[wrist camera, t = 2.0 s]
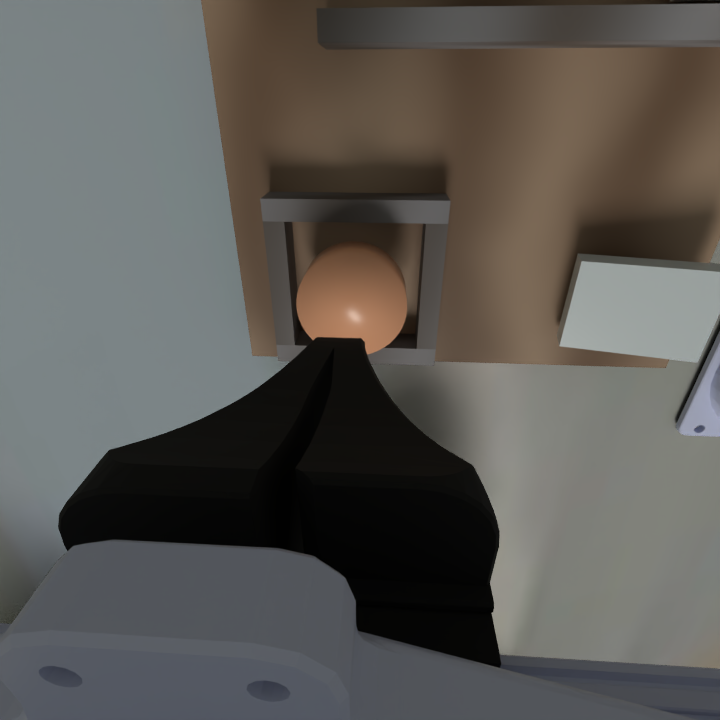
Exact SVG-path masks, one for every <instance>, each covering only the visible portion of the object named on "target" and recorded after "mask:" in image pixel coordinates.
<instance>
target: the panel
mask: <svg viewBox="0 0 720 720" xmlns="http://www.w3.org/2000/svg"><path fill="white" fill-rule="evenodd" d="M201 2H202V9H203V16H204V23H205V30H206V37H207V44H208V51H209V58H210V65H211V72H212V78H213V85H214V92H215V99H216V106H217V113H218V120H219V127H220V134H221V141H222V148H223V155H224V161H225V168H226V175H227V182H228V189H229V196H230V203H231V210H232V217H233V224H234V231H235V237H236V244H237V251H238V258H239V265H240V272H241V279H242V286H243V293H244V300H245V307H246V314H247V320H248V327H249V334H250V341H251V348H252V355H253V356H278V361H292V360H293V359H294V358H295V357H296V356H297V355H298V354H299V353H300V352H301V351H302V350H303V349H305V348H306V347H307V346H308V345H309V344H310V343H311V342H312V341H313V340H312V339H311V338H310V337H309V335H308V334H307V333H306V332H305V330H304V328H303V327H302V325H301V322H300V320H299V317H298V314H297V307H296V299H297V293H298V289H299V286H300V284H301V282H302V279H303V277H304V275H305V273H306V271H307V269H308V267H309V266H310V264H311V262H312V261H313V260H314V259H315V257H316V256H317V255H318V254H320V253H321V252H322V251H323V250H325V249H326V248H328V247H330V246H332V245H335V244H338V243H342V242H349V241H357V242H364V243H369V244H371V245H374V246H376V247H378V248H380V249H382V250H383V251H385V252H386V253H388V254H389V255H390V256H391V257H392V258H393V259H394V261H395V262H396V263H397V264H398V266H399V268H400V269H401V272H402V274H403V277H404V280H405V286H406V296H407V314H406V319H405V322H404V325H403V327H402V329H401V331H400V332H399V334H398V335H397V336H396V338H395V339H394V340H393V341H392V342H391V343H390V344H388V345H387V346H386V347H384V348H382V349H380V350H379V351H376V352H374V353H371V354H367V356H368V359H369V361H370V364H397V365H430V366H434V361H446V362H480V363H514V364H547V365H581V366H615V367H648V368H666V366H667V364H668V361H669V359H662V358H654V357H646V356H637V355H629V354H620V353H612V352H604V351H595V350H587V349H579V348H570V347H562V346H559V343H558V339H557V333H558V329H559V325H560V321H561V317H562V313H563V309H564V305H565V301H566V297H567V294H568V290H569V286H570V282H571V278H572V274H573V270H574V266H575V262H576V258H577V254H578V253H579V254H592V255H606V256H620V257H633V258H647V259H660V260H674V261H688V262H701V263H710V260H711V258H712V256H713V253H714V251H715V248H716V246H717V244H718V241H719V239H720V1H695V2H670V0H201Z"/></svg>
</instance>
